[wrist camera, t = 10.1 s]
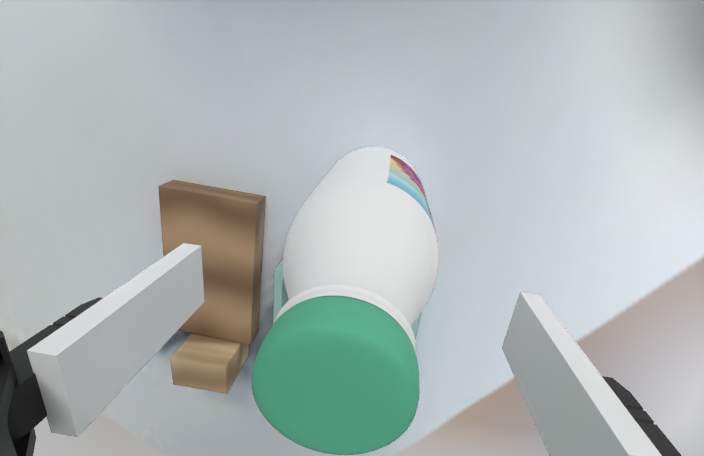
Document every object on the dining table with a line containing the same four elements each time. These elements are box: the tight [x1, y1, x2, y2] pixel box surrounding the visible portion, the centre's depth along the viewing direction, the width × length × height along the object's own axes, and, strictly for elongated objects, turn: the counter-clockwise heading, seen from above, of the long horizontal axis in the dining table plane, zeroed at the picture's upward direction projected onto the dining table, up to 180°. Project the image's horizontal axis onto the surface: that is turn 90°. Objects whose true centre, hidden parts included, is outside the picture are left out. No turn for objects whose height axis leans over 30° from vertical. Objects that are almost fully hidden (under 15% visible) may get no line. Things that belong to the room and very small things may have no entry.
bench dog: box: [170, 333, 249, 394], centre depth 32 cm, size 3×5×5 cm, turn 84°
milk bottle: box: [252, 147, 439, 455], centre depth 18 cm, size 8×8×20 cm
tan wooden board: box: [159, 180, 266, 344], centre depth 31 cm, size 14×8×2 cm, turn 172°
